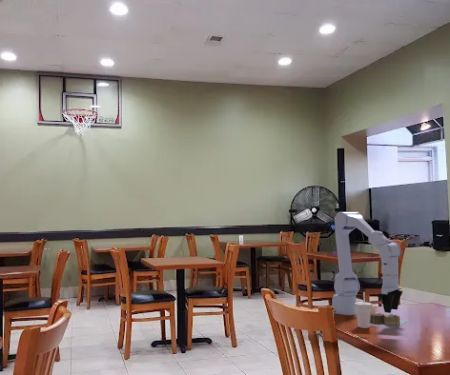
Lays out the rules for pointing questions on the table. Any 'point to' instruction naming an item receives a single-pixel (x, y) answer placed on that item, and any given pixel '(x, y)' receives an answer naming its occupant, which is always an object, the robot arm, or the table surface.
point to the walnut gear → (377, 318)
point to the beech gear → (392, 320)
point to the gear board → (388, 325)
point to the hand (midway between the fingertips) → (391, 310)
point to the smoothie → (363, 313)
